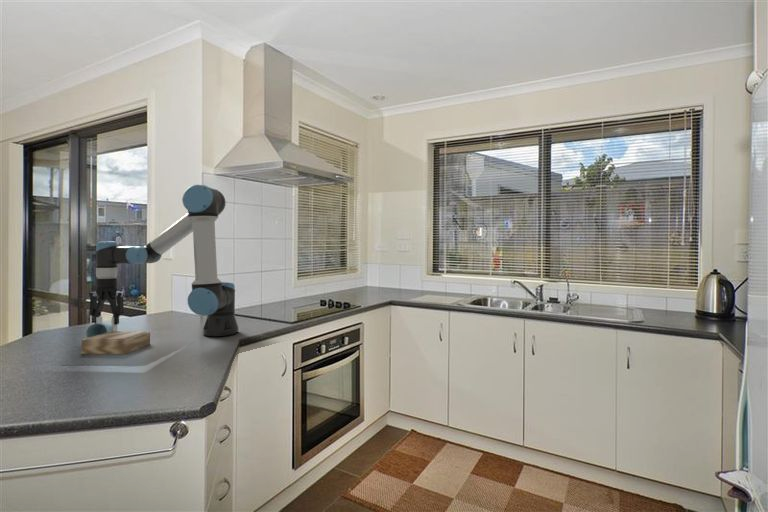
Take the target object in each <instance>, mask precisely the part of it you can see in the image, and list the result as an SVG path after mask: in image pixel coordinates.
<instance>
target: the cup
mask: <svg viewBox="0 0 768 512" xmlns="http://www.w3.org/2000/svg"><path fill="white" fill-rule="evenodd" d="M85 331H86V332H85V335H86V336H85V337H86V339H87V338H90V337H93V336H97V335H100V334H103V333H107V332H111V331H113V329H112V323H111V324H110V323H103V322H102V323H95V322H94V323H92V324H90V325H89V326H88V327H87V328H86V330H85Z"/></svg>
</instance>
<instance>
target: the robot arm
mask: <svg viewBox="0 0 768 512" xmlns="http://www.w3.org/2000/svg"><path fill="white" fill-rule="evenodd" d="M181 200H182V205H183V206H184V208H185V209H186V210H187V213H186V214H185V215H184V216H182V217H181V218H180V219H178V220H177V221H176V222H174V223H172V225H170V226H169V227H168V228H166V229H165V230H164V231H163V232H161V233H160V234H159V235H157V236H156V237H154V239H151V241H149V242H148V243H146V244H145V245H144V246H140V245H139V246H137V245H136V246H135V245H124V246H123V245H121V246H120V245H118V242H116V241H98V242H96V244H95V245H96V248H95V259H96V260H95V262H96V263H95V265H96V268H95V277H96V279H95V286H96V290H95V291H91V292H89V293H88V294H89V299H90V300H89V316H91V317H92V316H93V317H94V324H95V323H103V316H102V311H103V309H104V305H105V302H106V301H107V302H109V306H110V309H111V310H110V311H111V313H112V316H111V325H112V329H113V331H118V325H119V324H120V317H122V316H123V315H125V309H124V308H125V305H124V297H125V291H119V290H118V288H117V287H118V278H117V277H118V265H142V264H154V263H157V262H159V261H160V260H161V258H162V255H164V254H165V253H166V252H168V251H169V250H170V249H172V248H173V247H174V246H175V245H177V244H179V243H180V242H182V240H183V239H185V238H187V237H188V235H190V234H191V233H192V241H193V256H194V257H193V258H194V259H193V260H194V262H193V263H194V276H195V277H194V278H195V279H194V281H192V283H191V291H190V293H189V294H188V296H187V306H188V308H189V309H190V310H191V312H192V313H194V314H195V315H198V316H202V317H203V316H206V318H205V322H204V325H203V328H202V335H203V336H209V337H210V336H211V337H224V336H232V335H235V334H234V333H236V332H238V331H239V325H238V321H237V318H236V315H235V313H236V312H235V307H236V306H235V304H236V297H235V296H236V288H235V284H234V283H233V282H226V281H225V282H223V281H221V280H220V279H219V278H218V268H217V267H218V266H217V264H218V263H217V261H218V260H217V247H216V246H217V245H216V225H215V224H216V223H215V222H216V221H217V220H218V219H219V215H221V214H222V213H223V212H224V210H225V209H226V203H227V202H226V198H225V196H224V195H223V193H222V192H221V191H219V190H218V189H215V188H212V187H210V186H208V185H205V184H193V185H191V186H189V187H188V188H187V189H186V190H185V191H184V192H183V195H182V199H181ZM238 333H239V332H238ZM231 334H232V335H231ZM236 334H237V333H236Z"/></svg>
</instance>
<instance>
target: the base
mask: <svg viewBox="0 0 768 512" xmlns="http://www.w3.org/2000/svg"><path fill="white" fill-rule="evenodd" d="M149 345H151V331H118V330H117V331H111V332H107V333H103V334H100V335H97V336H93V337H90V338H87V337H86V338H84V339H81V354H82V355H83V354H84V355H85V354H87V355H88V354H89V355H90V354H91V355H127V354H129V353H132V352H134V351H137V350H140V349H141V348H144V347H147V346H149Z"/></svg>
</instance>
